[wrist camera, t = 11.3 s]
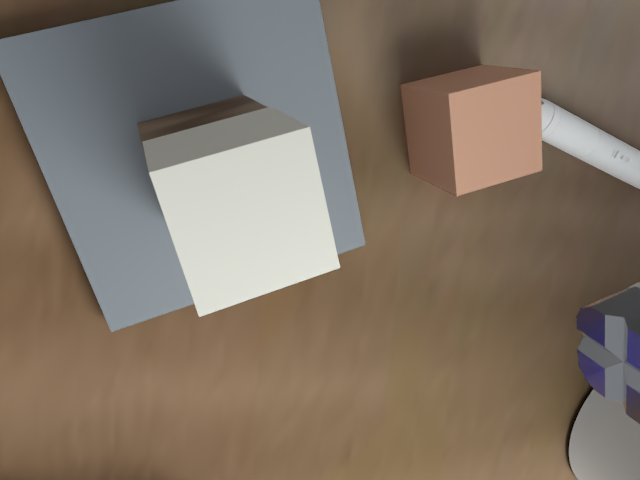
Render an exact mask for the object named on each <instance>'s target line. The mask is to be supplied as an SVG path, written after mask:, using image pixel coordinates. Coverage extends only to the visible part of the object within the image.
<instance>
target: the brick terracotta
mask: <svg viewBox="0 0 640 480" xmlns="http://www.w3.org/2000/svg"><path fill="white" fill-rule="evenodd" d="M400 86H401V95H402V104H403V113H404V122H405V130H406V139H407V148H408V157H409V166H410V174H412V175H414V176H417V177H419V178H421V179H423V180H425V181H427V182H429V183H431V184H433V185H435V186H437V187H439V188H441V189H443V190H445V191H447V192H449V193H451V194H453V195H455V196H460V195H463V194H466V193H470V192H473V191H476V190H480V189H483V188H486V187H490V186H493V185H496V184H499V183H503V182H506V181H509V180H513V179H516V178H519V177H523V176H526V175H529V174H533V173H536V172H539V171H542V109H541V71H539V70H529V69H518V68H508V67H498V66H487V65H479V66H475V67H471V68H467V69H463V70H459V71H454V72H450V73H446V74H442V75H438V76H434V77H430V78H426V79H422V80H417V81H413V82H409V83H405V84H401V85H400Z"/></svg>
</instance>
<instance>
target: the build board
mask: <svg viewBox="0 0 640 480" xmlns="http://www.w3.org/2000/svg"><path fill="white" fill-rule="evenodd" d="M0 75H1V78H2V80H3V82H4V85H5V87H6V89H7V91H8V94H9V96H10V98H11V101H12V103H13V105H14V108H15V110H16V112H17V115H18V117H19V119H20V122H21V124H22V126H23V129H24V131H25V133H26V136H27V138H28V140H29V142H30V145H31V147H32V149H33V152H34V154H35V156H36V159H37V161H38V163H39V166H40V168H41V170H42V173H43V175H44V177H45V180H46V182H47V184H48V187H49V189H50V191H51V193H52V196H53V198H54V200H55V203H56V205H57V207H58V210H59V212H60V214H61V217H62V219H63V221H64V224H65V226H66V228H67V231H68V233H69V235H70V238H71V240H72V242H73V244H74V247H75V249H76V251H77V254H78V256H79V258H80V261H81V263H82V265H83V268H84V270H85V272H86V275H87V277H88V279H89V282H90V284H91V286H92V289H93V291H94V293H95V295H96V298H97V300H98V302H99V305H100V307H101V309H102V312H103V314H104V316H105V319H106V321H107V323H108V326H109V328H110V330H111V332H113V331H116V330H119V329H122V328H125V327H128V326H131V325H134V324H136V323H139V322H142V321H145V320H148V319H151V318H154V317H157V316H160V315H163V314H166V313H169V312H171V311H174V310H177V309H180V308H183V307H186V306H189V305H192V304H194V301H193V298H192V295H191V292H190V289H189V287H188V284H187V281H186V278H185V275H184V272H183V269H182V266H181V264H180V261H179V258H178V255H177V252H176V249H175V246H174V243H173V241H172V238H171V235H170V232H169V229H168V226H167V223H166V221H165V218H164V215H163V212H162V209H161V206H160V203H159V200H158V198H157V195H156V192H155V189H154V186H153V183H152V180H151V177H150V175H149V171H148V166H147V162H146V157H145V153H144V150H143V147H142V144H141V140H140V135H139V130H138V125H137V123H139V122H143V121H147V120H150V119H154V118H158V117H162V116H166V115H169V114H173V113H177V112H181V111H184V110H188V109H192V108H196V107H200V106H203V105H207V104H211V103H215V102H218V101H222V100H226V99H230V98H234V97H237V96H241V95H245V96H247V97H249V98H251V99H253V100H255V101H257V102H259V103H260V104H262V105H264V106H266V107H272V108H274V109H276V110H278V111H280V112H282V113H284V114H286V115H288V116H290V117H292V118H294V119H296V120H298V121H300V122H302V123H304V124H306V125H308V126H310V129H311V134H312V139H313V143H314V148H315V153H316V157H317V162H318V167H319V171H320V176H321V181H322V185H323V190H324V195H325V199H326V204H327V209H328V213H329V218H330V223H331V227H332V232H333V237H334V241H335V246H336V251H337V255H338V254H341V253H344V252H346V251H349V250H352V249H355V248H358V247H361V246H364V245H365V239H364V234H363V229H362V223H361V218H360V213H359V208H358V202H357V197H356V192H355V186H354V181H353V176H352V170H351V165H350V160H349V155H348V149H347V144H346V139H345V133H344V128H343V123H342V118H341V112H340V107H339V102H338V96H337V91H336V86H335V81H334V75H333V70H332V65H331V59H330V54H329V49H328V44H327V38H326V33H325V28H324V22H323V17H322V12H321V6H320V1H319V0H176V1H172V2H167V3H162V4H158V5H153V6H149V7H144V8H140V9H135V10H131V11H126V12H122V13H117V14H112V15H108V16H103V17H99V18H94V19H90V20H85V21H81V22H76V23H72V24H67V25H62V26H58V27H53V28H49V29H44V30H40V31H35V32H31V33H26V34H22V35H17V36H12V37H8V38H3V39H0Z"/></svg>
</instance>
